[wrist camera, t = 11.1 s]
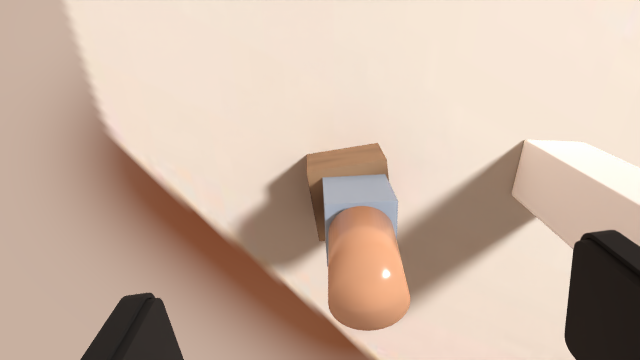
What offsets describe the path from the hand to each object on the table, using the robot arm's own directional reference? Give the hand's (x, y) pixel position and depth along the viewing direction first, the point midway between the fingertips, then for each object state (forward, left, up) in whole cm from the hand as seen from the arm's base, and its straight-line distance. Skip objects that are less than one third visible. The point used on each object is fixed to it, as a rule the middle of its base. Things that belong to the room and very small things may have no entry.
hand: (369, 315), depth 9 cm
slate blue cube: (-10, -1, -25) cm, 27 cm away
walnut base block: (-9, -1, -31) cm, 32 cm away
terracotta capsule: (-9, -1, -20) cm, 22 cm away
